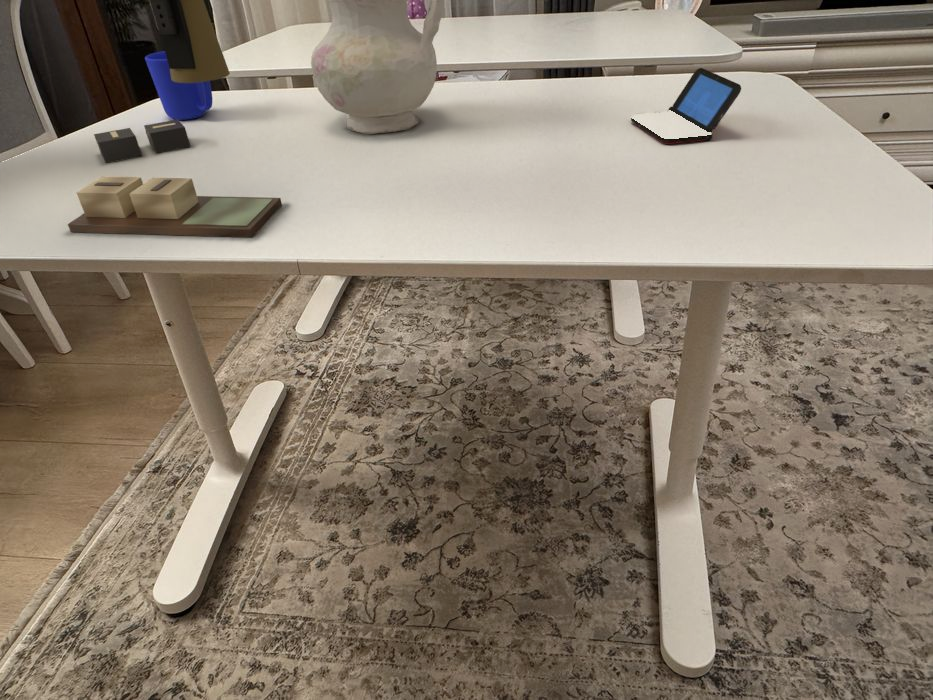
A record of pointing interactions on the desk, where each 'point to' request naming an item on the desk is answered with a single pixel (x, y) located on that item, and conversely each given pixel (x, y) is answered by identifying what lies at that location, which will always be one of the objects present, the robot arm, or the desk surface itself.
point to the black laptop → (702, 103)
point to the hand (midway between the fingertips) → (194, 62)
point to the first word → (126, 144)
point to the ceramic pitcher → (376, 63)
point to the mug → (178, 91)
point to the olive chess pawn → (201, 47)
